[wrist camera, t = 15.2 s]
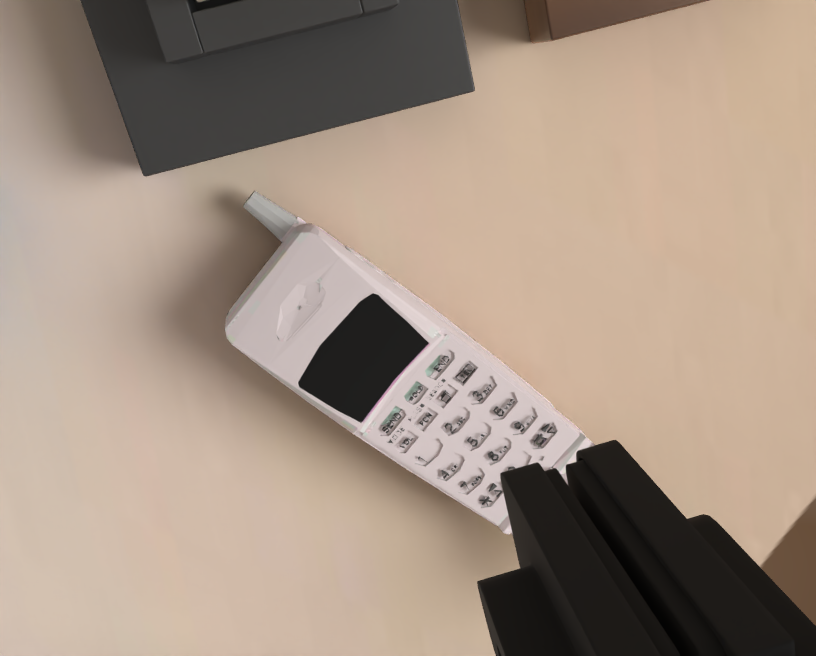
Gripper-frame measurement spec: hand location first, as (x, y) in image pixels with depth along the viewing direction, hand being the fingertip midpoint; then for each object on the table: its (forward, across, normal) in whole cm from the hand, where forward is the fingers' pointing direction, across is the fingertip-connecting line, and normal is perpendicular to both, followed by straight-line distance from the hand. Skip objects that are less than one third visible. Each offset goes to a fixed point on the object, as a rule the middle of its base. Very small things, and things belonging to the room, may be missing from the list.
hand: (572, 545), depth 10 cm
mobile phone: (+21, -1, +8) cm, 23 cm away
